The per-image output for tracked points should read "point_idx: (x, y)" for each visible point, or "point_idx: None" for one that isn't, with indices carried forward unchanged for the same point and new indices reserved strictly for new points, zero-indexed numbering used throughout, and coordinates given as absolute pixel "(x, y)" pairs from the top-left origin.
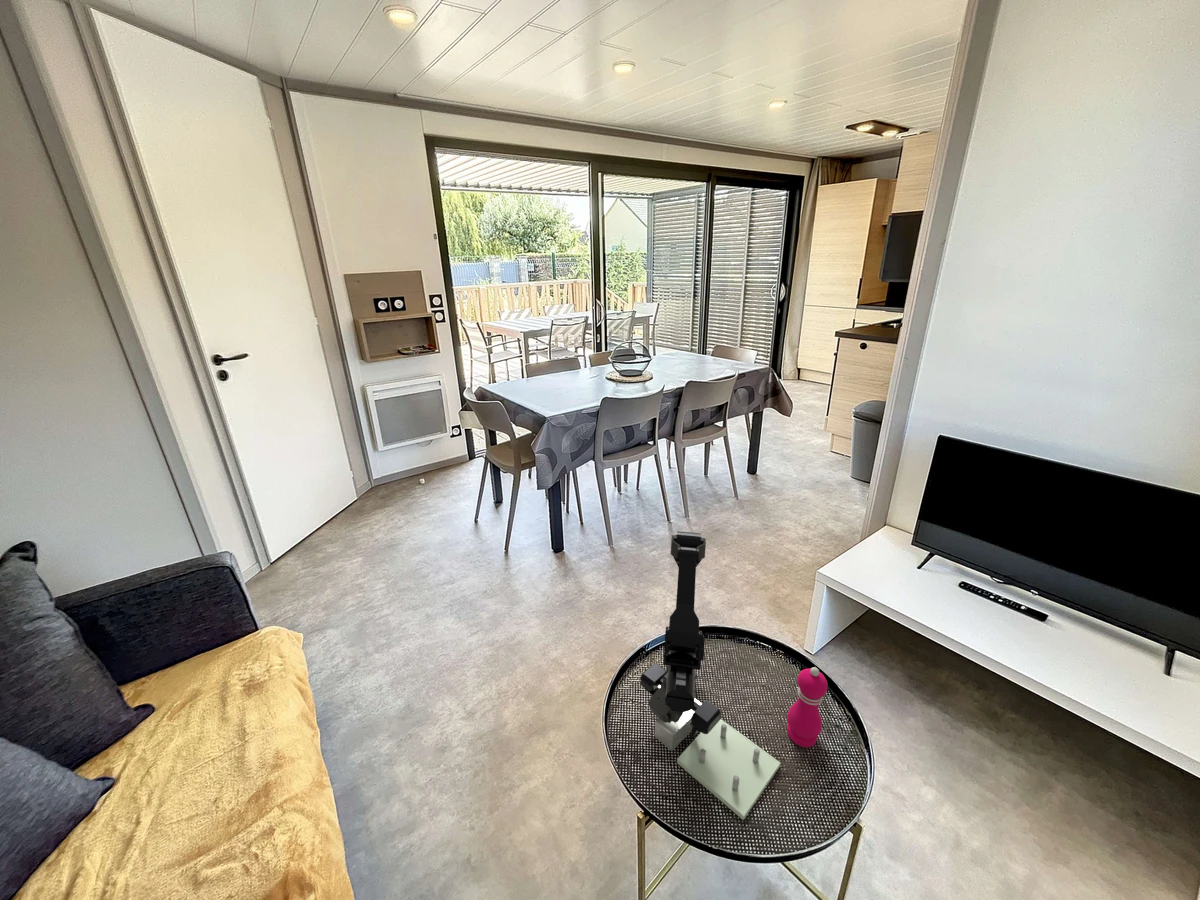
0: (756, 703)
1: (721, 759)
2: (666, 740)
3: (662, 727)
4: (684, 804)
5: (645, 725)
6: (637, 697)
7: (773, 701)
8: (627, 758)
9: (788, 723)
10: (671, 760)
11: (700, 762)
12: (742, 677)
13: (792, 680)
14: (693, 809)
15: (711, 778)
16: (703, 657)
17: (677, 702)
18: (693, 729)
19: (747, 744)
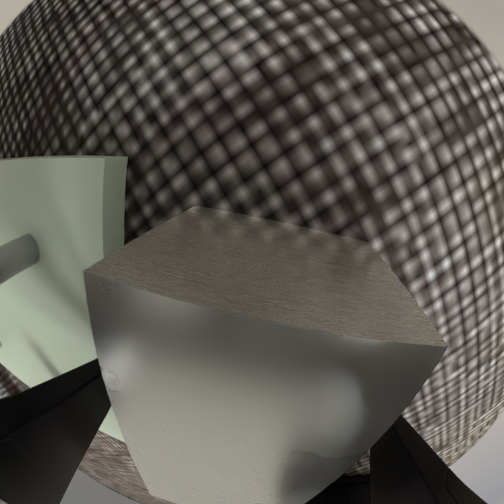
0: (121, 467)
1: (13, 301)
2: (235, 233)
3: (303, 327)
4: (45, 36)
5: (443, 278)
6: (488, 374)
7: (107, 468)
8: (417, 8)
9: None
10: (162, 144)
11: (26, 235)
12: None
13: (122, 489)
14: (22, 56)
15: None
16: None
17: None
18: (36, 404)
19: (29, 380)
